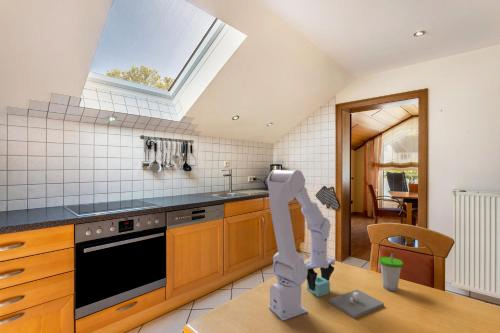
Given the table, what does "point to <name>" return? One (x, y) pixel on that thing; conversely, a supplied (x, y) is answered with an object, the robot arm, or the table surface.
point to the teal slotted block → (320, 287)
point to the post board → (356, 303)
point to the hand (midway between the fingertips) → (318, 287)
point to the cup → (390, 272)
